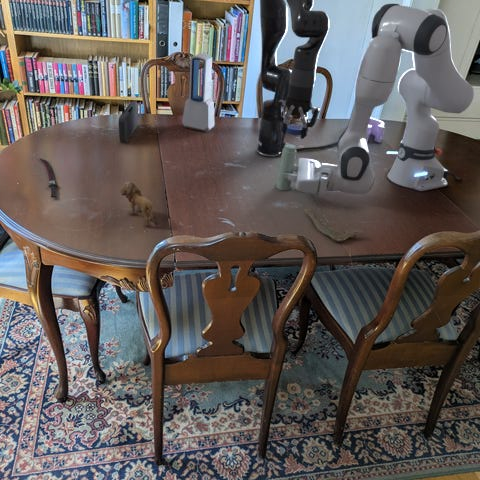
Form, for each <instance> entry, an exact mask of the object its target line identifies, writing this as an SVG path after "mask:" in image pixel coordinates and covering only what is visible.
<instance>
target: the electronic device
mask: <svg viewBox="0 0 480 480" xmlns="http://www.w3.org/2000/svg"><path fill="white" fill-rule="evenodd" d="M200 61H202V62H203V65H202V66H203V67H202V69H203V70H202V89H201V90H202V91H201V96H200V95H199V83H200V82H199V80H200ZM212 73H213V56H211V55H209V54H207V53H199V54H196V55H193V56H191V57H190V68H189V97H188V98H187V99H186V100H185V101H184V106H183V107H184V108H183V114H182V118H181V123H182V125H183V127H184V128H185V129H191V130H196V131H200V132H204V133H208V132H209V131H210V130H212V129H213V128H214V127H215V124H216V123H215V102H214V101H213V99H212V98H211V92H212V91H211V90H212Z"/></svg>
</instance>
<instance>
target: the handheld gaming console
mask: <svg viewBox="0 0 480 480" xmlns="http://www.w3.org/2000/svg"><path fill="white" fill-rule="evenodd" d="M138 104H139V103H138V101H131V102H130V103H129V104H128V105H127V106H126V107H125V109H124V110H123V111H122V112H121V114H120V115H119V117H118V122H117V123H118V137H119V142H120V143H127V142H128V140H129V139H130V137H131V136H132V134H133V133H134V131H136V129H137V127H138V125H139V105H138Z"/></svg>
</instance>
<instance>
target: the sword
mask: <svg viewBox="0 0 480 480" xmlns="http://www.w3.org/2000/svg"><path fill="white" fill-rule="evenodd" d="M40 161H41V162H42V163H43V165H44V166H45V169H46V173H47V176H48V185H47V188H50V198H56V197H57V189H56V188H57V187H59V185H58V184H57V183H56V180H55V176H54V172H53V169H52V167H51V164H50V163H49V161H48V160H46V159H43V158H40Z"/></svg>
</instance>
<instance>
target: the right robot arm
mask: <svg viewBox="0 0 480 480" xmlns="http://www.w3.org/2000/svg"><path fill="white" fill-rule="evenodd" d="M450 32H451V31H450V27H449V22H448V20H447V16H446V14H445V12H444V11H442V10H441V9H439V8H427V9H421V8H417V7H412V6H407V5H400V3H386V4H383V5H382V6H381V7H380V8H379V9H378V10H377V11H376V13H375V14H374V16H373V18H372V21H371V40H370V41H369V42H368V44H367V47H366V48H365V50H364V53H363V56H362V58H361V62H360V65H359V68H358V70H357V75H356V79H355V84H354V101H353V107H352V110H351V113H350V117H349V120H348V123H347V125H346V127H345V129H344V130H343V131H342V132H341V134H340V135H339V137H338V138H337V141H338V142H337V141H336V142H337V144H336V148H337V151H338V160H339V161H338V164H331V163H325V162H319V161H318V160H317V159H316V160H315V159H313V158H312V159H311V158H306V157H299V158H297V159H298V160H297V162H296V163H295V164H294V169H293V172H295V173H293V174H290V173H289V172H283V178H286V179H289V180H291V182H294V183H295V190H296V191H298V192H302V193H307V194H312V195H313V194H314V195H315V194H317V196H320V197H323V196H325V194H326V193H327V192H328V191H329V192H340V193H342V194H348V195H349V194H350V195H365V194H368V193H369V192H370V191H371V190H372V188H373V186H374V183H375V178H376V175H375V173H374V170H373V168H372V164H371V156H370V150H369V146H368V142H367V137H366V130H367V127H368V124H369V121H370V117H372V114H373V112H374V110H375V108H377V107H381V106H382V105H384V104H385V103H387V102H388V100H389V98H390V96H391V94H392V92H393V89H394V87H395V84H396V81H397V77H398V74H399V71H400V70H399V69H400V64H401V59H402V55H403V53H404V51H405V52H408V53H409V52H410V53H411V54H412V62H413V68H410V69H407V70H406V71H405V72H404V73H403V74H402V75H401V77H400V78H399V81H398V85H397V91H398V94H399V95H400V97H401V99H402V100H403V102H404V105H405V110H406V125H405V127H404V128H405V129H404V133H403V136H402V140H400V143H399V145H398V149H397V151H386V154H387V155H390V154H391V155H396V157H395V160H394V162H393V164H392V166H391V168H390V170H389V171H388V173H387V175H386V177H387V178H388V180H389V181H390V182H392V183H394V184H395V185H398V186H401V187H405V188H409V189H413V190H415V191H419V192H425V191H429V190H433V189H438V188H444V187H447V186H448V184H449V183H448V181H447V180H446V178H447V177H448V175H450V176H451V177H453V179H454V180H455V181H462V179H463V178H462V177H457V176H456V174H455V173H452V172H449V170H448V169H446V168H445V167H444V166H443V164H441V162H440V161H439V160H438V159H437V157H436V156H441V155H442V152H443V150H442V149H440V148H439V147H435V144H436V141H437V139H438V135H439V132H440V124H439V121H438V120H437V119H436V118H435V117H434V115H433V113H432V109H434V110H436V111H439V112H443V113H447V114H448V113H449V114H461V113H463V112H464V111H466V110H467V109H468V108H469V107H470V106H471V105H472V103H473V100H474V96H475V95H474V94H475V92H474V88H473V85H472V84H471V83H469V82H468V81H467V80H466V79H465V78H464V77H463V76H462V75H461V74H460V72H459V71H458V69H457V67H456V66H455V64H454V61H453V57H452V44H451V33H450ZM435 154H436V156H435Z"/></svg>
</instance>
